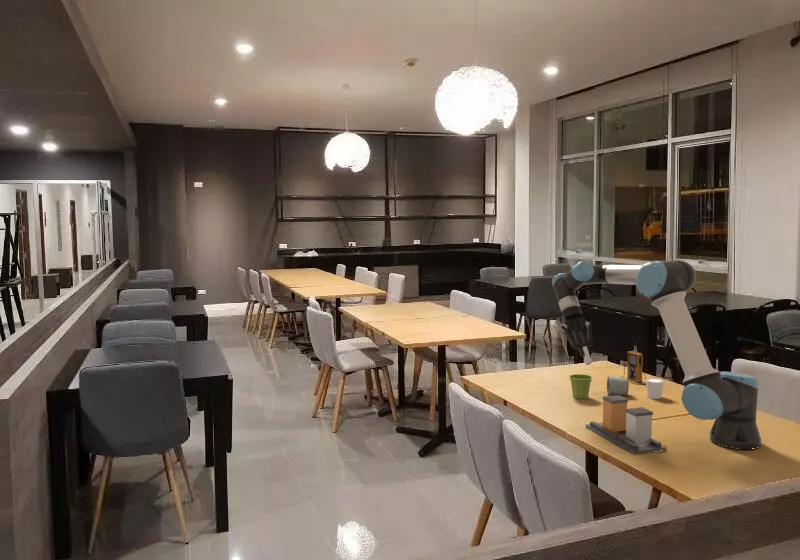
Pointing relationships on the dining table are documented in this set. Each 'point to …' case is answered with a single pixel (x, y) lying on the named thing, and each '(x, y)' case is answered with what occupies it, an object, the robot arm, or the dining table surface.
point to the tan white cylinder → (654, 388)
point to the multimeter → (635, 365)
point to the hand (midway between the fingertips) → (588, 363)
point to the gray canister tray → (631, 432)
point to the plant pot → (580, 385)
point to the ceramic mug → (617, 386)
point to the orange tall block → (614, 413)
